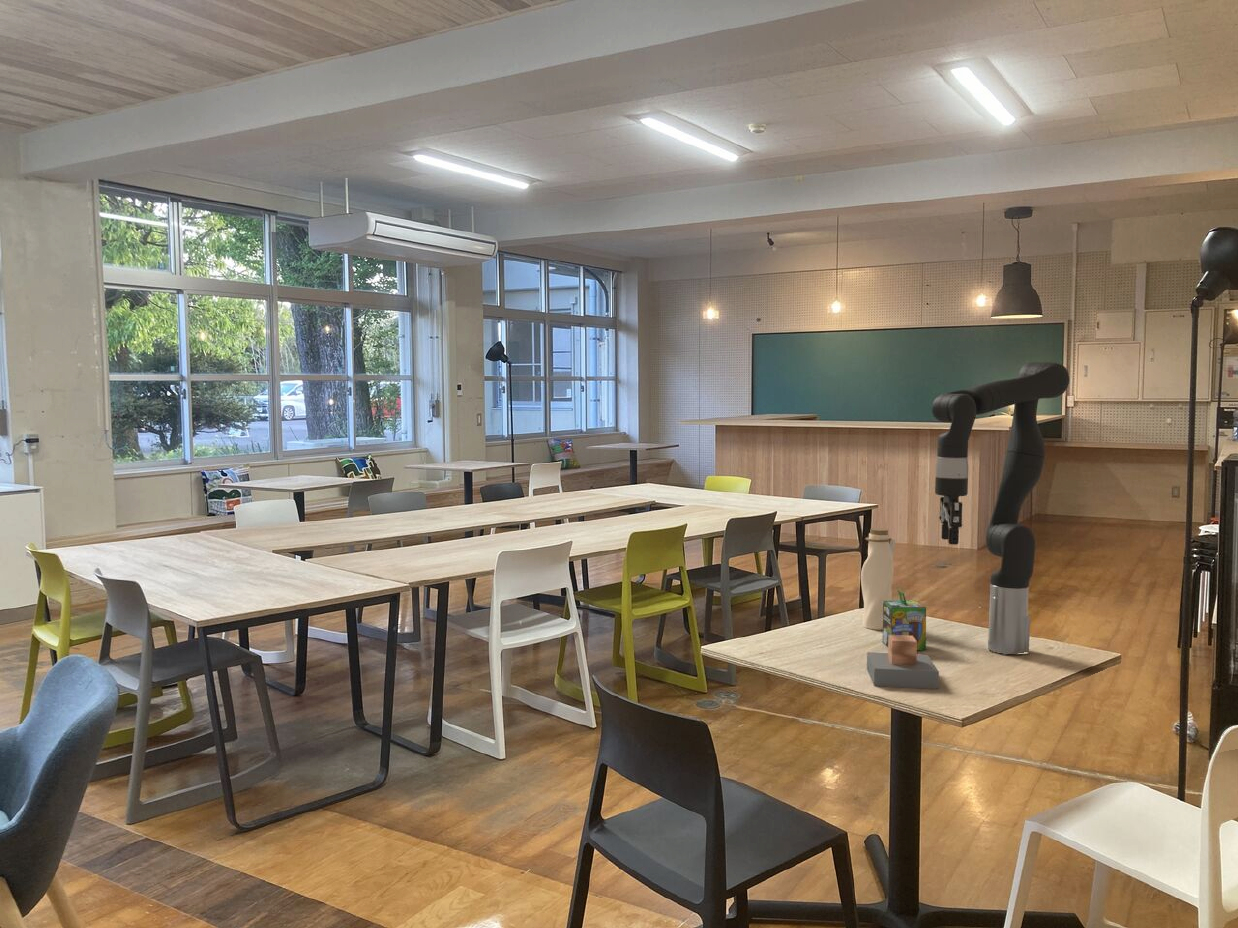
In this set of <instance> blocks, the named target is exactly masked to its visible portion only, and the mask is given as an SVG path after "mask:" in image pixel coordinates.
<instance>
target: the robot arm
mask: <svg viewBox="0 0 1238 928" xmlns="http://www.w3.org/2000/svg"><path fill="white" fill-rule="evenodd" d="M1069 384H1070V374H1069V371H1068V369H1067V368H1066V367H1065V366H1064V365H1063V364H1060V363H1058V362H1052V361H1051V362H1049V361H1031V362H1027V363H1024V365H1022V367H1021V368H1020V369H1019V373H1018V375H1017V378H1009V379H1002V380H995V381H994V380H993V381H991V382H987V383H983V384H980V385H976V386H974V387H971V388H967V389H960V390H954V391H950V392H945V393H942V394H940V395H938V396H937V397H936V398H935V399H934V400H933V402H932V403H931V413H932V416H933V417H934V418H935V419H936V420H937V421H938V422H939V421H940V422H941V423H951V424H950V427H949V429H948V431H946V432H943V433H940V434H939V436H938V438H937V455H936V463H935V479H934V480H935V482H934V485H935V487H934V493H935V495H936V496H940V498H939V502H940V503H939V521H940V524H941V536H940V537H941V539H942V540H948V542H947V543H948V544H949V545H955V546H956V545H958V544H959V537H960V536H959V535H960V529H961V528H962V526H963V502H961V501H960V500H959V497H966V496H967V495H968V491H969V489H968V488H969V458H968V457H969V454H968V453H969V439H970V436H971V433H972V431H973V427H974V423H975V420H976V416H978V415H980V416H981V415H983V414H984V415H985V414H987V413H991V412H994V411H997V410H1000V409H1003V408H1007V407H1010V406H1013V405H1014V406H1013V415H1012V420H1011V421H1012V422H1011V425H1010V426H1011V428H1010V432H1009V433H1010V434H1009V439H1008V443H1007V447H1006V452H1005V457H1004V461H1003V468H1002V472H1001V478H1000V481H999V482H1000V483H999V488H998V492H997V497H996V501H995V504H994V507H993V511H992V514H991V518H990V521H989V524H988V527H987V530H986V535H985V545H986V547H987V550H988V552H989V553H991V554H992V555H994V556H995V557H996V556H997V557H1000V558H1001V563H1000V567H999V569H998V570H996V571H993V572H992V573H991V574H990V583H989V584H990V586H989V610H988V611H989V614H988V634H987V635H988V639H987V649H988V650H989V651H990V650H991V651H990V652H992V651H993V653H995V652H997V653H996V654H999V653H1003V654H1002V655H1006V654H1018V653H1024V652H1029V653H1030V635H1031V634H1030V633H1031V631H1030V629H1031V617H1030V616H1029V598H1030V597H1029V593H1030V580H1031V578H1032V576H1033V574H1034V565H1035V554H1036V538H1035V534H1034V533H1033V531H1032V530H1031V529H1030V528H1029V527H1028V526H1026V525H1022V524H1019V517H1020V514H1021V509H1022V506H1023V504H1024V502H1025V500H1026V499H1027V498H1028V496H1029V494H1030V493H1031V492H1032V490H1033V489H1034V488H1035V487H1036V485H1037V484H1038V482H1039V480H1040V478H1041V475H1042V472H1043V468H1044V463H1045V457H1046V445H1045V442H1044V439H1043V435H1042V433H1041V430H1040V428H1039V424H1038V420H1037V419H1038V418H1037V412H1038V405H1039V401H1040V399H1041V400H1042V399H1055V398H1058V397H1060V396H1062V395H1063V394H1064V393H1065V392H1066V391H1067V389H1068V387H1069Z"/></svg>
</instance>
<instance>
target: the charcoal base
mask: <svg viewBox="0 0 1238 928" xmlns="http://www.w3.org/2000/svg"><path fill="white" fill-rule="evenodd" d="M866 653H867V654H866V671H867V672H868V675H869V677H870V680H871V682H872V685H873V686H874V687H889V688H890V687H891V688H892V687H893V688H907V689H908V688H909V689H910V688H911V689H927V690H928V689H929V690H930V689H931V690H939V677H940V671H939V670H938V668H937V666H936V665H935V664H934V663H933V661H932V659H931V658H930V657H929V655H928V654H917V660H916V665H896V664H891V662H890V661H889V659H888V652H874V651H872V652H870V651H867V652H866Z"/></svg>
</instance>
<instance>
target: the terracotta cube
mask: <svg viewBox="0 0 1238 928" xmlns="http://www.w3.org/2000/svg"><path fill="white" fill-rule="evenodd" d="M887 653H888V659H889V661H890V662H891V664H896V665H916V660H917V655H918V650H917V641H916V640H915V638H914V637H913V636H906V635H888V647H887Z"/></svg>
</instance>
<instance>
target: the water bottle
mask: <svg viewBox="0 0 1238 928" xmlns="http://www.w3.org/2000/svg"><path fill="white" fill-rule="evenodd" d="M865 540H866V541H868V544H867V547H868V548H867V558H866V559H865V561H863V562H864V563H863V565H862V568H861V573H860V574H861V575H860V583H861V593H862V598H863V616H862V627H863V628H864V629H869V630H875V631H876V630H877V631H878V630H882V631H883V602H884V601H893V593H892V587H893V582H894V581H893V580H894V573H895V572H894V571H895V567H894V566H895V565H894V557H895V556H894V555H895V545H896V539H894V538H891V537H890V535H889V529H888V528H880V527H877V528H876V527H875V528H874V527H873V528H870V531H869V533H868V536H867V537H865Z"/></svg>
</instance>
